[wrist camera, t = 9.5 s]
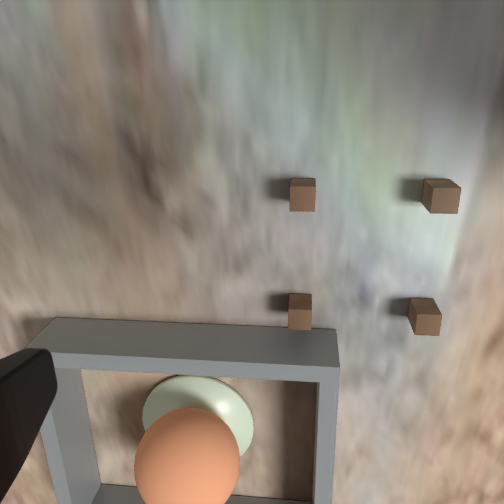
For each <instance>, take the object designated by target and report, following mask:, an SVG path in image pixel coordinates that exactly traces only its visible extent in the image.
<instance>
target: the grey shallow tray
mask: <svg viewBox="0 0 504 504" xmlns="http://www.w3.org/2000/svg"><path fill="white" fill-rule="evenodd" d="M26 348H46V349H48V350H49V351H50V352H51V354H52V358H53V363H54V368H55V372H56V377H57V383H58V388H57V393H56V396H55V399H54V401H53V403H52V405H51V407H50V409H49V411H48V413H47V416H46V418H45V420H44V422H43V424H42V426H41V428H40V432H41V436H42V440H43V444H44V449H45V453H46V457H47V461H48V466H49V470H50V474H51V478H52V483H53V487H54V491H55V495H56V500H57V504H146V503H145V502H144V500H143V499H142V497H141V495H140V493H139V490H138V488H137V487H130V486H119V485H107V484H101V480H100V474H99V469H98V464H97V458H96V453H95V447H94V442H93V436H92V431H91V426H90V420H89V415H88V409H87V404H86V399H85V393H84V388H83V382H82V377H81V371H80V369H90V370H108V371H125V372H143V373H161V374H179V376H175V377H172V378H169V379H167V380H165V381H163V382H161V383H160V384H159V385H157V386H156V387H155V388H154V389H153V390H152V391H151V393H150V394H149V396H148V398H147V400H146V402H145V404H144V407H143V413H142V421H143V426H144V429H145V432H146V431H147V430H148V428H149V427H150V426H151V425H152V424H153V423H154V422H155V421H156V420H157V419H158V418H160V417H161V416H163V415H164V414H166V413H168V412H170V411H173V410H176V409H180V408H186V407H193V408H200V409H204V410H207V411H209V412H212V413H214V414H215V415H217V416H218V417H220V418H221V419H222V420H223V421H224V422H225V423H226V424H227V425H228V426H229V428H230V429H231V431H232V433H233V434H234V436H235V439H236V441H237V445H238V448H239V455H240V457H241V456H242V455H243V454H244V453H245V451H246V450H247V449H248V447H249V445H250V443H251V441H252V437H253V431H254V421H253V416H252V412H251V410H250V408H249V406H248V404H247V403H246V401H245V400H244V399H243V397H242V396H241V395H240V394H239V393H238V392H237V391H236V390H234V389H233V388H232V387H230V386H229V385H227V384H225V383H224V382H222V381H219V380H217V379H214V378H211V377H208V376H214V377H232V378H249V379H267V380H285V381H303V382H317V389H316V414H315V440H314V465H313V490H312V502H305V501H294V500H282V499H270V498H259V497H247V496H235V495H230V497H229V498H228V500H227V501H226V502H225V503H224V504H332V490H333V474H334V457H335V441H336V425H337V408H338V392H339V376H340V363H339V353H338V344H337V334H336V330H334V329H311V330H293V329H288V327H265V326H242V325H219V324H196V323H173V322H150V321H127V320H104V319H81V318H57V317H56V318H55V319H54V320H53V321H51V322H50V323H49V324H48V325H47V326H46V327H45V328H44V329H43V330H42V331H41V332H40V333H39V334H38V335H37V336H36V337H35V338H34V339H33V340H32V341H31V342H30V343H29V344H28V345H27V346H26V347H25V348H24V349H26Z"/></svg>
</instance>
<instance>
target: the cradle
mask: <svg viewBox="0 0 504 504" xmlns="http://www.w3.org/2000/svg"><path fill="white" fill-rule="evenodd" d="M315 193H316V183H315V178H291V183H290V211H306V212H315ZM460 193H461V187H459V186H458V185H457V184H455V183H454V182H453V181H451V180H450V179H424V186H423V194H422V204H423V205H424V207H425V208H426V209H427V210H428V211H429V212H430V213H442V214H457V213H458V207H459V200H460ZM311 315H312V295H311V294H290V296H289V308H288V329H293V330H311ZM408 319H409V322H410V324H411V327H412V329H413V332H414V334H415V335H430V336H439V333H440V326H441V320H442V314H441V312H440V310H439V308H438V307H437V305H436V303H435V301H434V299H428V298H410V303H409V311H408Z"/></svg>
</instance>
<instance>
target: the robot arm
mask: <svg viewBox="0 0 504 504" xmlns="http://www.w3.org/2000/svg"><path fill="white" fill-rule="evenodd" d="M57 388H58V383H57V377H56V372H55V368H54V363H53V358H52V354H51V352H50V351H49V350H48V349H46V348H26V349H23V350H21V351H19V352H16V353H14V354H12V355H9V356H7V357H5V358H2V359H0V503H1V502H2V500H3V498H4V497H5V495H6V493H7V492H8V490H9V488H10V486H11V485H12V483H13V481H14V480H15V478H16V476H17V475H18V473H19V471H20V469H21V467H22V466H23V464H24V462H25V460H26V458H27V456H28V454H29V452H30V450H31V447H32V445H33V443H34V441H35V439H36V437H37V435H38V433H39V430H40V428H41V426H42V424H43V422H44V420H45V418H46V416H47V413H48V411H49V409H50V407H51V405H52V403H53V401H54V399H55V396H56V393H57Z"/></svg>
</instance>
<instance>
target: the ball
mask: <svg viewBox="0 0 504 504" xmlns="http://www.w3.org/2000/svg"><path fill="white" fill-rule="evenodd" d="M239 470H240V455H239V448H238V445H237V441H236V439H235V436H234V434H233V433H232V431H231V429H230V428H229V426H228V425H227V424H226V423H225V422H224V421H223V420H222V419H221V418H220V417H218V416H217V415H215V414H214V413H212V412H209V411H207V410H204V409H200V408H193V407H186V408H180V409H176V410H173V411H170V412H168V413H166V414H164V415H163V416H161V417H160V418H158V419H157V420H156V421H155V422H154V423H153V424H152V425H151V426H150V427H149V428H148V430H147V431H146V432H145V434H144V435H143V437H142V439H141V441H140V443H139V445H138V449H137V452H136V456H135V464H134V472H135V480H136V484H137V488H138V490H139V493H140V495H141V497H142V499H143V500H144V502H145V503H146V504H224V503H225V502H226V501H227V500H228V498H229V497H230V495H231V493H232V492H233V490H234V487H235V485H236V482H237V479H238V475H239Z"/></svg>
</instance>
